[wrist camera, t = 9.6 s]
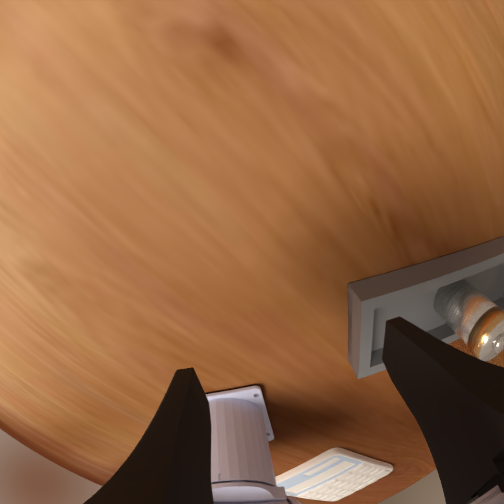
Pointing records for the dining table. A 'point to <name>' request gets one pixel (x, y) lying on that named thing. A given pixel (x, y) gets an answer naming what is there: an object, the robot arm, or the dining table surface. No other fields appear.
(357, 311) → the trough
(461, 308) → the cell
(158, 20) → the dining table surface
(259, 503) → the robot arm
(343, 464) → the calculator
